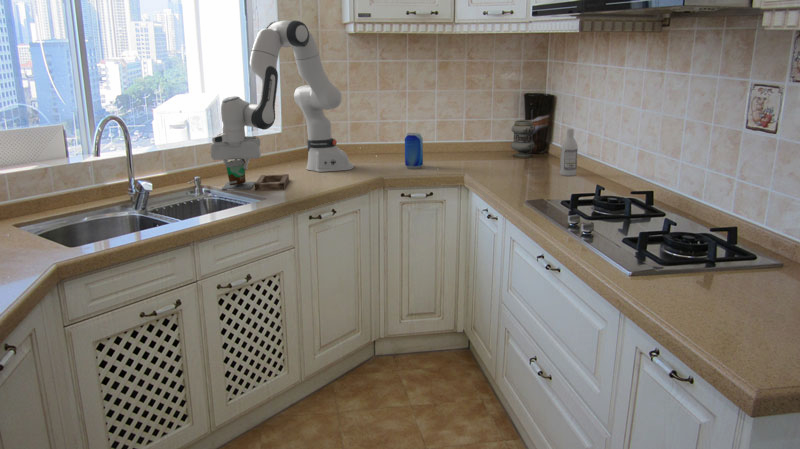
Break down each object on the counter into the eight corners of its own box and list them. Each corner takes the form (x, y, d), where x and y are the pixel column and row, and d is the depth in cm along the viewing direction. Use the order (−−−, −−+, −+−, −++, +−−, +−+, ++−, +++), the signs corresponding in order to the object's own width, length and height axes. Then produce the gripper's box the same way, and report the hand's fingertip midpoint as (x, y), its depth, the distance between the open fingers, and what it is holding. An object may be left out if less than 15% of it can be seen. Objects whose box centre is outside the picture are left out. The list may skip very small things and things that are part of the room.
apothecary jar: (512, 153, 333) (513, 119, 328) (536, 154, 329) (537, 119, 324) (508, 158, 323) (509, 122, 317) (532, 159, 319) (534, 122, 314)
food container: (243, 185, 266) (239, 161, 263) (228, 186, 266) (225, 162, 264) (252, 179, 277) (249, 156, 275) (238, 180, 278) (235, 157, 275)
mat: (255, 182, 279) (255, 181, 278) (250, 189, 267) (250, 187, 267) (227, 183, 278) (227, 182, 278) (221, 190, 266) (221, 188, 266)
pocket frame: (288, 179, 283) (288, 174, 283) (284, 189, 266) (283, 183, 265) (261, 180, 283) (261, 175, 282) (254, 190, 265) (254, 184, 264)
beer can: (402, 168, 302) (401, 134, 298) (409, 165, 310) (408, 132, 305) (419, 169, 299) (418, 135, 295) (425, 166, 307) (425, 132, 302)
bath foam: (579, 175, 281) (582, 129, 275) (566, 176, 278) (569, 130, 272) (568, 172, 287) (571, 127, 281) (556, 174, 284) (558, 128, 278)
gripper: (260, 134, 270) (263, 167, 274) (211, 136, 269) (214, 168, 273) (258, 137, 264) (261, 170, 268) (208, 138, 263) (211, 171, 267)
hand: (237, 169), depth 270 cm, fingers closed on food container, 5 cm apart
